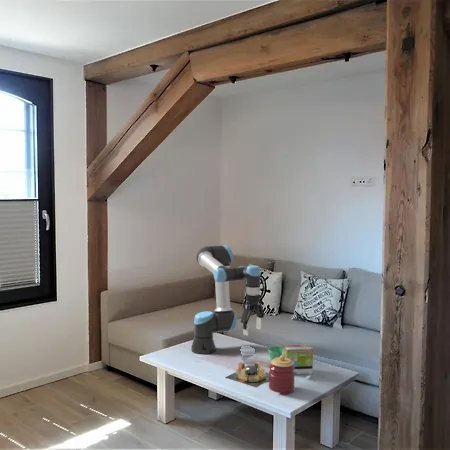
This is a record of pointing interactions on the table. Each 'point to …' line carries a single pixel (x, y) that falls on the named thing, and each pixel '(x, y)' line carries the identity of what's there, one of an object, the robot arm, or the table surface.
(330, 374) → the table surface
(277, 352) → the mug
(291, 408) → the table surface
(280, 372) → the canister
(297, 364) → the tea box
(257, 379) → the ring nut
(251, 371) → the cap plate
